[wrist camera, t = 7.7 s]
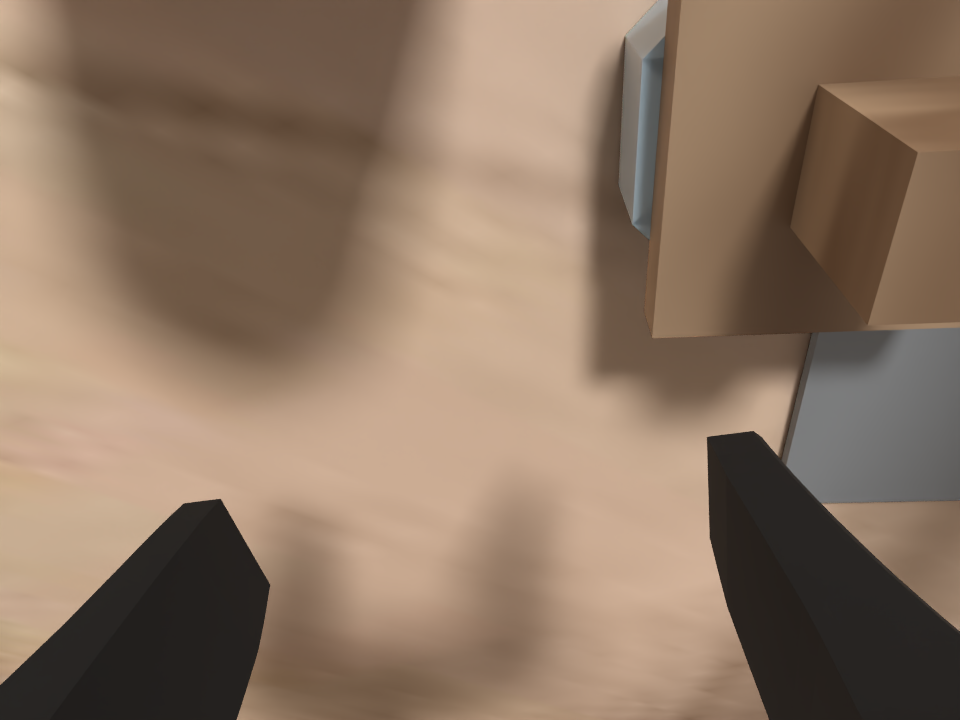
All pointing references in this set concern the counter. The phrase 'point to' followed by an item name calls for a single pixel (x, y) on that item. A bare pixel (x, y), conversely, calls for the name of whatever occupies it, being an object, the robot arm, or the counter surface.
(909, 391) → the mat
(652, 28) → the bowl
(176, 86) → the counter surface
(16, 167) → the counter surface
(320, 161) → the counter surface
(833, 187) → the lid
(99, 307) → the counter surface
